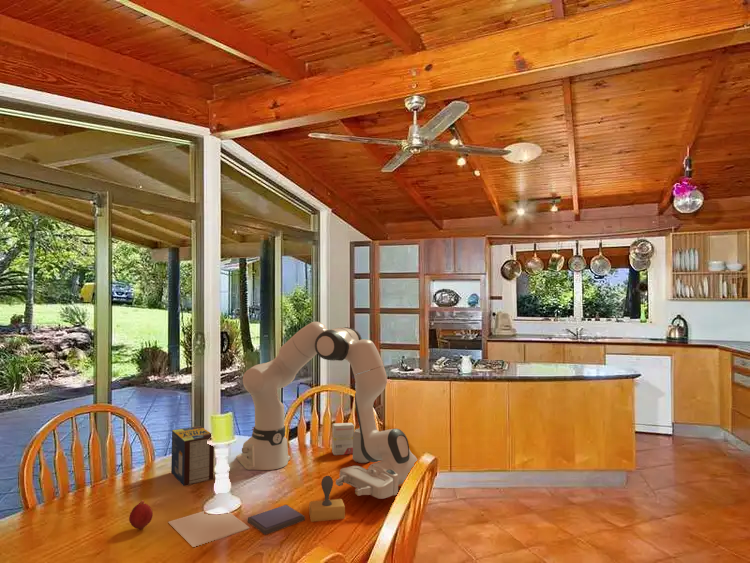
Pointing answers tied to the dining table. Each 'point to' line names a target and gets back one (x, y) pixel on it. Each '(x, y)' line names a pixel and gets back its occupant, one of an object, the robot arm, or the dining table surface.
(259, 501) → the dining table surface
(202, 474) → the protein box
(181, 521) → the paper
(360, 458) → the can
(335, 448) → the ink box
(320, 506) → the rubber stamp
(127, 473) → the dining table surface
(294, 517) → the ink pad
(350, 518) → the dining table surface
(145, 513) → the onion
